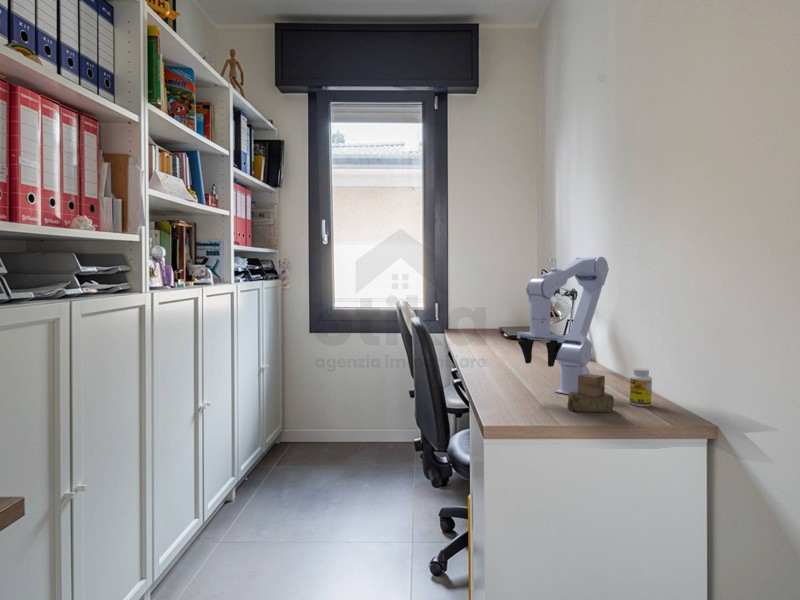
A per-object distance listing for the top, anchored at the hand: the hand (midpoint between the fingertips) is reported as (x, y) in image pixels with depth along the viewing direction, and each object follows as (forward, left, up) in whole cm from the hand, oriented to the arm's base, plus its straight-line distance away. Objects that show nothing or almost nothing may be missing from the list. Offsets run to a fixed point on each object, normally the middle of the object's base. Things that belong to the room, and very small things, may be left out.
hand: (539, 364), depth 151 cm
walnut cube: (+1, +17, -6) cm, 18 cm away
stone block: (0, +16, -11) cm, 19 cm away
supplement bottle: (-16, +23, -11) cm, 30 cm away
